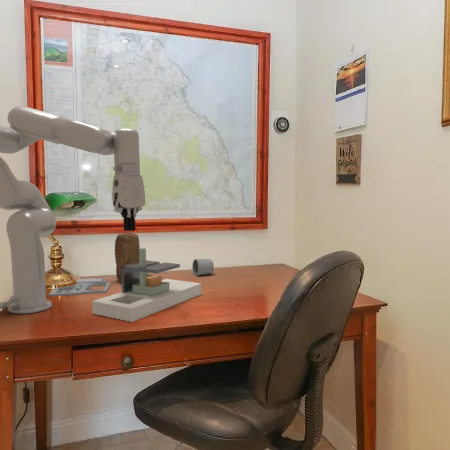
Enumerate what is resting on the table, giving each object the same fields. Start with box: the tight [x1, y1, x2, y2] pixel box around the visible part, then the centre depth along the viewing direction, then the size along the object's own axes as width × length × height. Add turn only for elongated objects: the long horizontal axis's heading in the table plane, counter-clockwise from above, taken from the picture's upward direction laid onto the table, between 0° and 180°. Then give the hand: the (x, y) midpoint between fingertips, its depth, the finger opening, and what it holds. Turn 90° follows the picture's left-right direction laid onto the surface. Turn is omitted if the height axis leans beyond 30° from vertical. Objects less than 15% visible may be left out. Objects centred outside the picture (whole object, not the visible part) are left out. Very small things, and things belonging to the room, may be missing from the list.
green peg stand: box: [133, 247, 170, 295], centre depth 136 cm, size 9×9×15 cm
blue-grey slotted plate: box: [48, 277, 111, 297], centre depth 160 cm, size 23×3×20 cm
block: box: [114, 232, 141, 283], centre depth 169 cm, size 11×8×20 cm
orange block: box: [146, 274, 163, 287], centre depth 137 cm, size 5×5×5 cm
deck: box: [92, 278, 202, 323], centre depth 137 cm, size 36×16×4 cm, turn 149°
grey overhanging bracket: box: [121, 259, 181, 293], centre depth 137 cm, size 12×15×9 cm
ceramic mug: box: [192, 258, 215, 277], centre depth 184 cm, size 10×8×7 cm
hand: (129, 230), depth 127 cm, fingers closed
